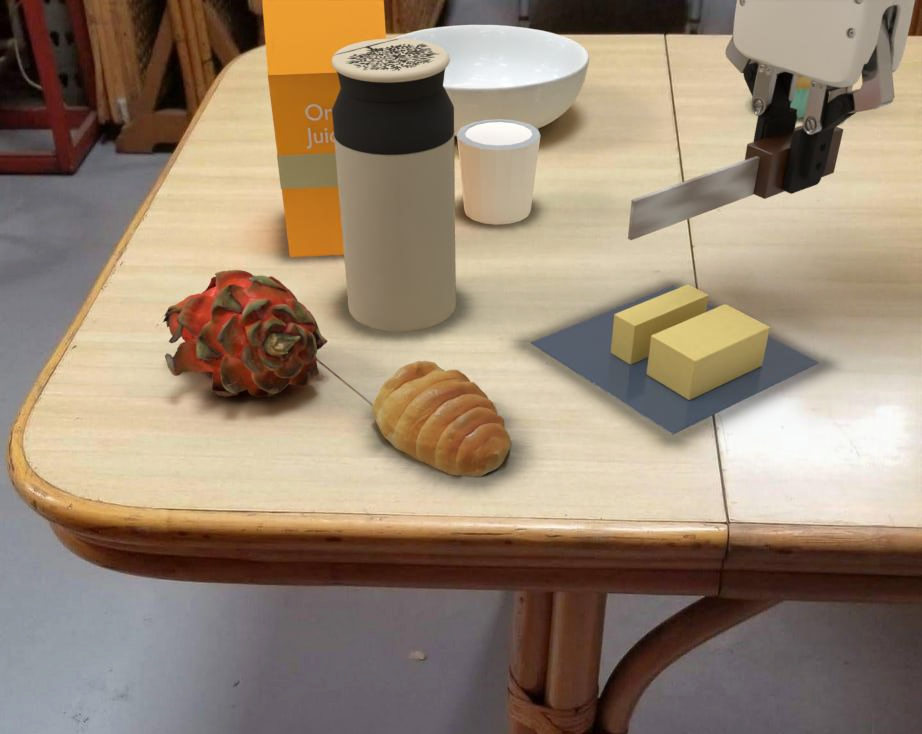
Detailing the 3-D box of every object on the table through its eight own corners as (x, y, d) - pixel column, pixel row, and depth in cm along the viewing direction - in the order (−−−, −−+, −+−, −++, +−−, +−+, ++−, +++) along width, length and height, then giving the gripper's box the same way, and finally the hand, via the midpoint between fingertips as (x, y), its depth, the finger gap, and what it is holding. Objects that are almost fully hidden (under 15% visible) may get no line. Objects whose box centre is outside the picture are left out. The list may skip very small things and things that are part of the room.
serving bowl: (627, 132, 106) (634, 59, 102) (454, 181, 97) (453, 104, 93) (503, 77, 119) (504, 10, 115) (340, 116, 110) (334, 45, 106)
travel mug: (476, 318, 79) (477, 61, 67) (381, 349, 75) (365, 84, 64) (421, 276, 84) (413, 29, 72) (330, 302, 81) (306, 49, 69)
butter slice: (682, 322, 77) (687, 283, 75) (702, 333, 76) (708, 294, 74) (610, 352, 74) (614, 313, 72) (630, 365, 72) (634, 325, 71)
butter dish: (671, 291, 81) (672, 284, 81) (817, 369, 73) (819, 362, 73) (529, 349, 75) (529, 342, 75) (671, 442, 67) (672, 434, 66)
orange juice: (292, 221, 91) (261, -40, 78) (395, 216, 92) (382, -44, 79) (289, 262, 86) (255, -12, 72) (399, 257, 86) (386, -16, 73)
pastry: (538, 458, 66) (540, 405, 63) (451, 501, 63) (450, 449, 60) (444, 392, 71) (443, 342, 69) (361, 430, 68) (356, 378, 66)
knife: (808, 163, 74) (817, 119, 72) (834, 173, 73) (844, 128, 71) (616, 233, 66) (621, 186, 64) (641, 246, 65) (646, 198, 63)
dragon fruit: (327, 436, 70) (192, 410, 76) (370, 320, 72) (234, 303, 77) (254, 380, 63) (110, 355, 68) (304, 252, 64) (158, 238, 70)
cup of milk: (521, 193, 95) (523, 113, 91) (549, 225, 90) (553, 142, 86) (447, 204, 94) (446, 123, 89) (471, 236, 89) (471, 152, 84)
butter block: (718, 342, 75) (725, 303, 73) (762, 366, 72) (770, 326, 70) (645, 374, 72) (650, 335, 70) (689, 400, 69) (695, 360, 67)
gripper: (1018, -130, 56) (919, 206, 69) (782, -167, 66) (733, 133, 78) (931, -113, 53) (844, 237, 65) (697, -156, 63) (659, 156, 75)
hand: (784, 178), depth 72 cm, fingers closed on knife, 2 cm apart
